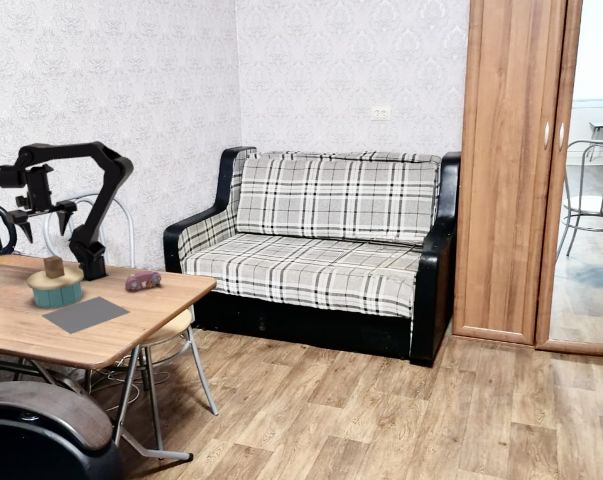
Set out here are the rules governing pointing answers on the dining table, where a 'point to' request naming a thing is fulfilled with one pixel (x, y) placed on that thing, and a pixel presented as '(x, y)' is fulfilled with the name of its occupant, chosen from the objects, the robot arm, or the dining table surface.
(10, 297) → the dining table surface
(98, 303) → the mat
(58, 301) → the bowl
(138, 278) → the purple toy car
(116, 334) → the dining table surface
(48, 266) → the lid
